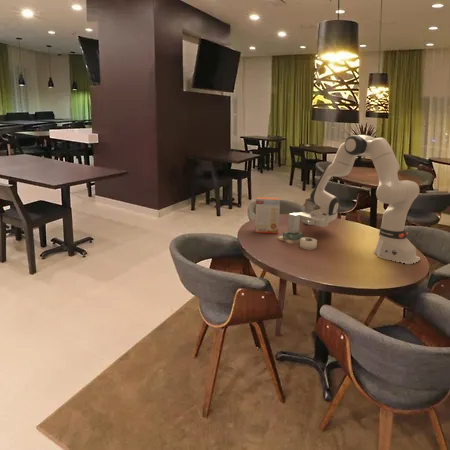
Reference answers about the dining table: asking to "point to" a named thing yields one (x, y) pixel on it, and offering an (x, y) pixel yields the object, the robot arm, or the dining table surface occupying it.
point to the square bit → (293, 223)
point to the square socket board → (291, 238)
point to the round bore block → (308, 243)
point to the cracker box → (267, 215)
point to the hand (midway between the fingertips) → (301, 221)
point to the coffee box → (310, 207)
